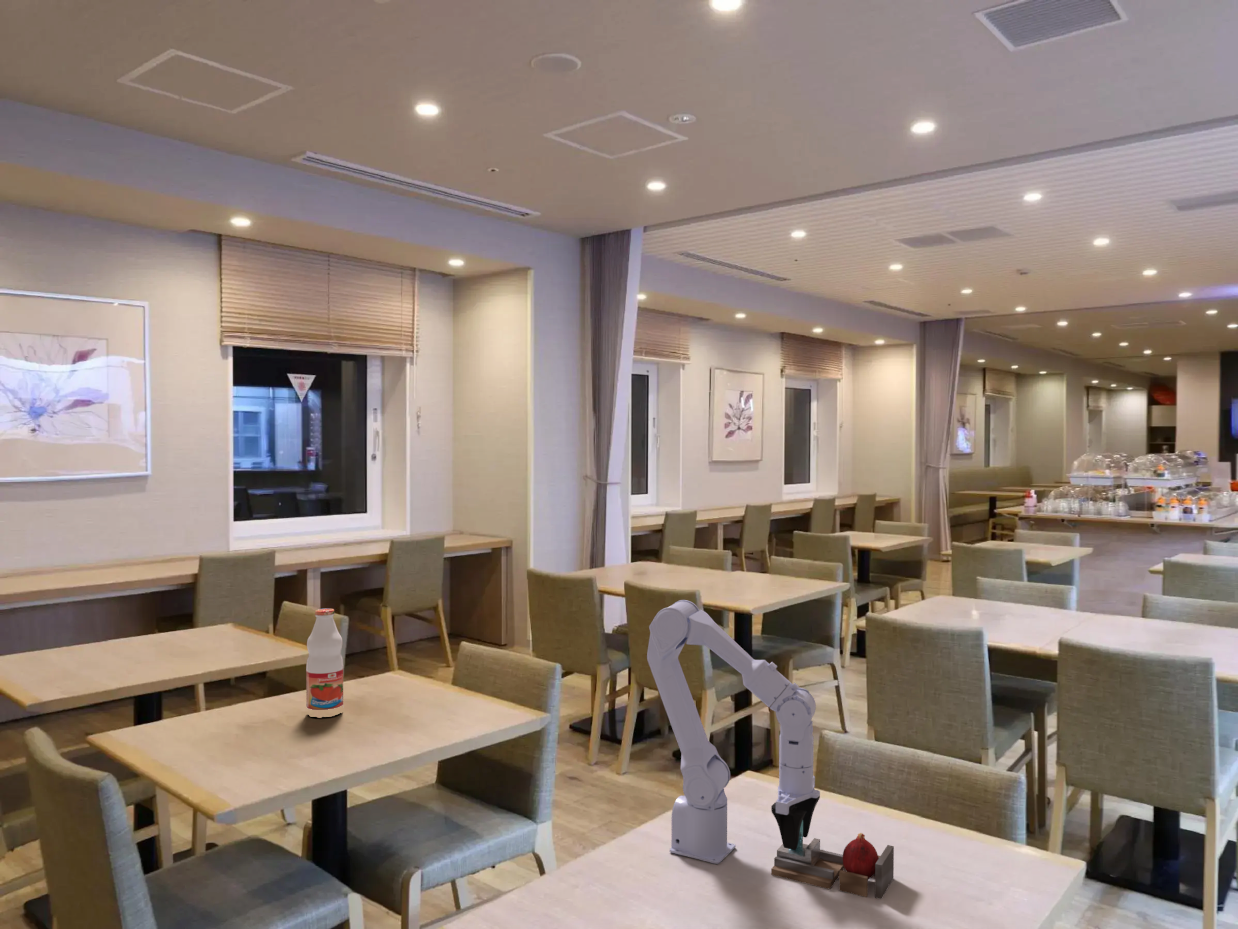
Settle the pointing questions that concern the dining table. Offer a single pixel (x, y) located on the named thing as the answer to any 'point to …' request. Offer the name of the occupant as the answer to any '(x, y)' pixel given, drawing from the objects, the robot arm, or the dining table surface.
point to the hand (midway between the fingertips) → (795, 842)
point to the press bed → (838, 873)
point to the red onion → (860, 857)
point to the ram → (802, 851)
